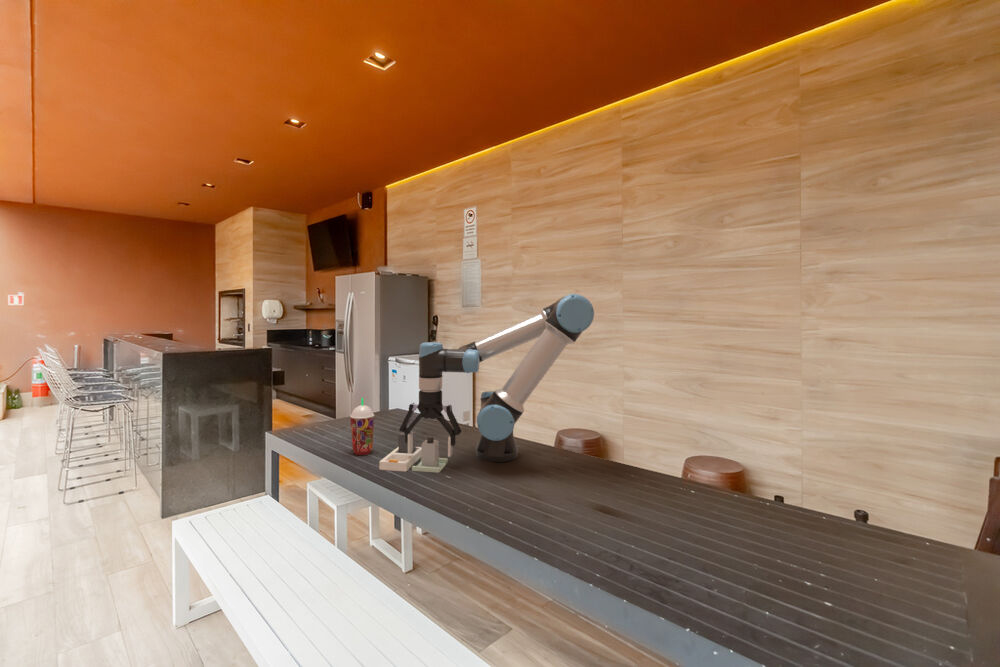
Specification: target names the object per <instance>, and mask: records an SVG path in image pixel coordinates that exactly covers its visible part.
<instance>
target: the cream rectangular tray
mask: <svg viewBox="0 0 1000 667" xmlns="http://www.w3.org/2000/svg"><path fill="white" fill-rule="evenodd" d="M410 432H413V452H412V453H411V454H408V443H405V433H404V432H401V431H400V433H398V439H397V440H398V446H397V448H395V449H394V450H392V451H391V452H390V453H388V454H387V455H386V456H384V457H383V458H382V459H381V460H380V461H378V462H379V465H378V466H379V470H381V471H394V472H407V471H409V470H410V469H411V468H412V466H414V465H415V464H416V463H417V462H418V461H419V460H421V457H422V446H416V445H417V444H416V442H417V441H416V436H417V434H416V431H412V430H411V431H410Z"/></svg>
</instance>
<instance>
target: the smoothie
mask: <svg viewBox="0 0 1000 667" xmlns="http://www.w3.org/2000/svg"><path fill="white" fill-rule="evenodd" d="M349 416H350V427H351V428H350V429H351V444H352V451H353V453H354V455H357V456H366V455H369V454H371V453H372V450H373V444H374V441H373V440H374V430H375V429H374V426H375V425H374V424H375V413H374V412H373V409H372V408H371V407H370V406H368V405H366V404H364V397H361V403H360V404H359V405H358V406H356V407H355V408H353V410H352V411H351V414H350V415H349Z"/></svg>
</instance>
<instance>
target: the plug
mask: <svg viewBox="0 0 1000 667" xmlns="http://www.w3.org/2000/svg"><path fill="white" fill-rule="evenodd" d="M421 447H422V464H421V466H426V467H437V466H438V465H439V458H440V440H438V439H437V440H436V439H434V436H428V437H427V438H426V439H425V440H424V441H423V442H422V443H421Z"/></svg>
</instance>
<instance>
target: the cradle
mask: <svg viewBox="0 0 1000 667" xmlns="http://www.w3.org/2000/svg"><path fill="white" fill-rule="evenodd" d="M448 458H449V457H447V458H444V457H439V465H438V466H437V467H426V466H421V464H422V457H421V458H420V462H418V463H417V465H412V466H411V471H412V472H425V473H440V472H441V471H442V470H443V469H444V468H445V466H446V465H447V464H448V461H449V460H448Z"/></svg>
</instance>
